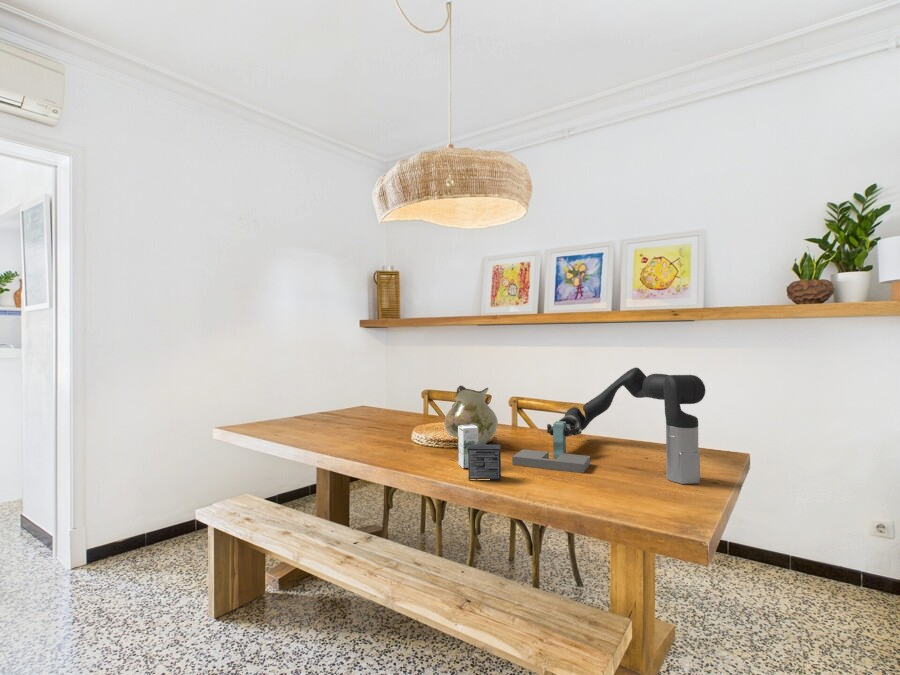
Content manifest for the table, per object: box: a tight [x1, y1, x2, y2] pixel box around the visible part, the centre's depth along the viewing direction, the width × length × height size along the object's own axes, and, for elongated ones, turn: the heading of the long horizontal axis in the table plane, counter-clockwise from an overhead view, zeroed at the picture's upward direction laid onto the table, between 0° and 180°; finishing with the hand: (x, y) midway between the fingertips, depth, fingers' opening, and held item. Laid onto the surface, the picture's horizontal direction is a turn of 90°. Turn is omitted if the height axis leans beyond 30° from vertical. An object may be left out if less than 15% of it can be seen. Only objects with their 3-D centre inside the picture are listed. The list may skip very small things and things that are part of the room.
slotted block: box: [511, 448, 591, 474], centre depth 171 cm, size 12×25×3 cm, turn 64°
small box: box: [467, 444, 502, 481], centre depth 155 cm, size 11×6×10 cm, turn 84°
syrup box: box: [457, 425, 478, 469], centre depth 169 cm, size 6×6×14 cm
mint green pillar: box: [552, 420, 567, 459], centre depth 182 cm, size 6×4×13 cm, turn 155°
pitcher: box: [444, 385, 498, 445], centre depth 202 cm, size 22×24×25 cm
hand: (558, 433), depth 180 cm, fingers open, 4 cm apart
